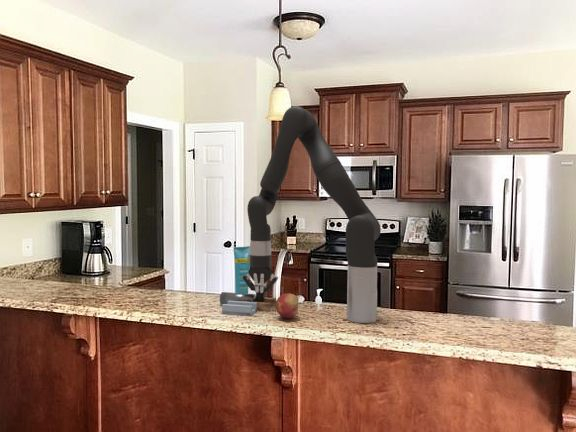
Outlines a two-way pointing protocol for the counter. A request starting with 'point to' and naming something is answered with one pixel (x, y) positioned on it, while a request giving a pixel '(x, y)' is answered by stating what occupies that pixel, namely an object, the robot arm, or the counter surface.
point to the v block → (239, 308)
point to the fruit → (287, 305)
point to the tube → (241, 268)
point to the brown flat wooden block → (265, 304)
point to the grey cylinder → (236, 297)
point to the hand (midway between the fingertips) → (260, 302)
